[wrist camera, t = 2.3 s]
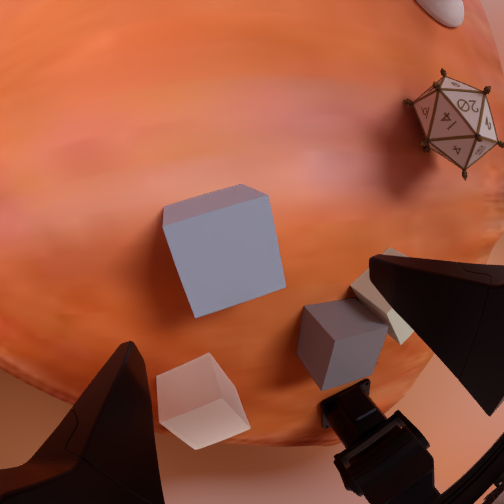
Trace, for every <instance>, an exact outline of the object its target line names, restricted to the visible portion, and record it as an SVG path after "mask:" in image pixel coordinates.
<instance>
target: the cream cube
mask: <svg viewBox="0 0 504 504" xmlns="http://www.w3.org/2000/svg"><path fill="white" fill-rule="evenodd" d="M156 382H157V400H158V414H159V423H160V424H162V425H163V426H164V427H165V428H167V429H168V430H169V431H170V432H172V433H173V434H174V435H176V436H177V437H178V438H180V439H181V440H182V441H184V442H185V443H186V444H188V445H189V446H191V447H192V448H193V449H195V450H197V449H200V448H203V447H206V446H208V445H211V444H214V443H217V442H219V441H222V440H224V439H227V438H229V437H232V436H234V435H237V434H239V433H242V432H244V431H246V430H249V429H251V428H250V425H249V422H248V420H247V417H246V415H245V412H244V409H243V407H242V404H241V401H240V398H239V396H238V393H237V390H236V387H235V386H234V384H233V383H232V382H231V381H230V379H229V378H228V377H227V375H226V374H225V373H224V371H223V370H222V369H221V367H220V366H219V365H218V363H217V362H216V361H215V359H214V358H213V357H212V355H211V354H210V352H208V353H206V354H204V355H202V356H200V357H198V358H196V359H194V360H191V361H189V362H187V363H185V364H183V365H180V366H178V367H176V368H174V369H171V370H169V371H167V372H164V373H162V374H160V375H158V376H156Z"/></svg>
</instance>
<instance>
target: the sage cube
mask: <svg viewBox="0 0 504 504" xmlns="http://www.w3.org/2000/svg"><path fill="white" fill-rule="evenodd" d="M382 255H392V256H402V257H408V256H406V255H404V254H402V253H401V252H399V251H397V250H395V249H393V248H391V247H389V248H388V249H387V250H386V251H385V252H384V253H383V254H382ZM350 286H351V288H352V289H353V291H354V293H355V294H356V296H357V298H358V299H359V301H360V303H361V304H362V305H364V306H365V307H366V308H367V309H368V310H370V311H371V312H372V313H373V314H374V315H376V316H377V317H378V318H379V319H380V320H382V321H383V322H384V323H385V324H386V325H388V326H389V328H388V331H387V333H388V334H389V335H390V336H391V337H392V338H393V339H395V340H396V341H397V342H398V343H399V344H400V345H401V344H402V343H403V342H404V341H405V340H406V339H407V338H408V337H409V336H410V335H411V334H412V333H413V332H414V330H413V329H412V328H411V327H410V326H409V325H408V324H407V323H406V322H405V321H404V320H403V319H402V318H401V317H400V316H399V315H398V314H397V313H396V312H395V311H394V309H393V308H392V307H391V306H390V305H389V304H388V302H387V301H386V300H385V299H384V297H383V296H382V295H381V294H380V292H379V291H378V290H377V289H376V288H375V286H374V285H373V284H372V283H371V281H370V278H369V268H368V269H367V270H366V271H365V272H364V273H363V274H361V275H360V276H359V277H358V278H357V279H356V280H355V281H354V282H353V283H352V284H351V285H350Z"/></svg>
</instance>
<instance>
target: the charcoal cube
mask: <svg viewBox="0 0 504 504" xmlns="http://www.w3.org/2000/svg"><path fill="white" fill-rule="evenodd" d="M388 328H389V326H388V325H386V324H385V323H384V322H383V321H382V320H380V319H379V318H378V317H377V316H376V315H374V314H373V313H372V312H371V311H370V310H368V309H367V308H366V307H365V306H364V305H362V304H361V303H360V302H359V301H358V300H356V299H355V298H349V299H344V300H338V301H332V302H326V303H319V304H313V305H306V306H304V309H303V316H302V322H301V329H300V335H299V341H298V347H297V353H296V354H297V356H298V357H299V359H300V360H301V362H302V363H303V365H304V366H305V368H306V369H307V371H308V372H309V374H310V375H311V377H312V378H313V380H314V381H315V382H316V384H317V385H318V387H319V388H320V390H321V391H323V390H327V389H330V388H333V387H337V386H340V385H343V384H346V383H349V382H352V381H355V380H358V379H361V378H364V377H366V376H369V375H372V373H373V370H374V367H375V365H376V362H377V360H378V357H379V354H380V351H381V349H382V346H383V343H384V340H385V337H386V334H387V331H388Z"/></svg>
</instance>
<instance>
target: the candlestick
mask: <svg viewBox="0 0 504 504" xmlns="http://www.w3.org/2000/svg"><path fill="white" fill-rule="evenodd" d="M416 1H417V3H418V4H419V5H420V6H421V7H422V8H423V9H424V10H425V11H426V12H427V13H428V14H429V15H431V16H432V17H433V18H434V19H435V20H437V21H438V22H440V23H441V24H443V25H445V26H448V27H457V26H459V25H461V24H462V22H463V18H464V7H463V2H462V0H416Z"/></svg>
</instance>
